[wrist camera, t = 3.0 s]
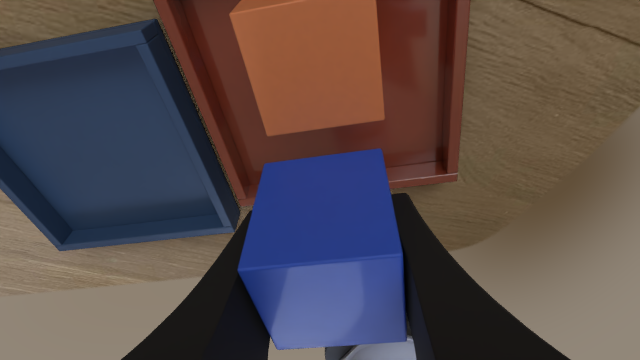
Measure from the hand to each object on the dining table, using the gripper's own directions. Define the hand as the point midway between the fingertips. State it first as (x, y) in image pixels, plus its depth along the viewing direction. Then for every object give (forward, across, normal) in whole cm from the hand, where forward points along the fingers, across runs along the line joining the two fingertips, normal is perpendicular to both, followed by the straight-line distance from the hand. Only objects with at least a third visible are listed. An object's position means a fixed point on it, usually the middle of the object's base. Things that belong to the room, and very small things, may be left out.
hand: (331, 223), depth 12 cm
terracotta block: (+6, 0, -5) cm, 8 cm away
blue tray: (+7, +12, 0) cm, 13 cm away
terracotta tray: (+7, 0, -2) cm, 7 cm away
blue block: (+1, 0, 0) cm, 1 cm away
